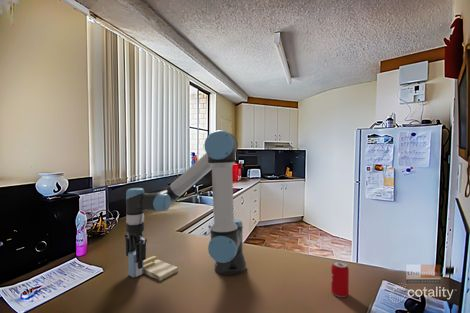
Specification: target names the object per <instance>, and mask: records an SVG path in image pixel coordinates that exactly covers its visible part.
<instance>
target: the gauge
mask: <svg viewBox="0 0 470 313" xmlns="http://www.w3.org/2000/svg"><path fill="white" fill-rule="evenodd" d="M127 259H128V260H127V263H128V265H127V266H128V267H127V269H128V276H129V277H131V278H136V262H135V261H137V258H136V250H135V251H133V252H130V253H129V252H128V256H127ZM155 260H157V256H155V255H153V256H150V257H146V260H144V261H142V274H141V275H143V274H144V268H143V266H144V265H146V264H148V263H150V262H154V261H155Z"/></svg>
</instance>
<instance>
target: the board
mask: <svg viewBox="0 0 470 313" xmlns="http://www.w3.org/2000/svg"><path fill="white" fill-rule="evenodd" d="M143 268H144V273H143V274H145V275H147V276H148V277H150V278H153V279H155V280H158V281H159V282H161V281H163V280H165V279H167V278H169V277H171V276H172V275H175V274H176V273H178V272H179V268H178V266H176V265H172V264H170V263H168V262H165V261H163V260H160V259H157V260H155V261H154V262H150V263H148V264H146V265H144V266H143Z"/></svg>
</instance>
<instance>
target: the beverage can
mask: <svg viewBox="0 0 470 313" xmlns="http://www.w3.org/2000/svg"><path fill="white" fill-rule="evenodd" d="M349 270H350V269H349V266H348V264H347V263H346V262H344V261H341V260H334V261H333V262H332V265H331V270H330V271H331V273H330V275H331V279H330V280H331V283H330V285H331V288H330V289H331V290H330V291H331V293H332V294H333V295H334V296H336V297H338V298H346V297H348V296H349V288H350V287H349V285H350V284H349V281H350V280H349V279H350V278H349V275H350V274H349V273H350V272H349Z"/></svg>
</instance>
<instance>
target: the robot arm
mask: <svg viewBox="0 0 470 313" xmlns="http://www.w3.org/2000/svg"><path fill="white" fill-rule="evenodd" d="M238 142H239V141H238V139H237V138H236V137H235V135H234V134H232V133H231V132H228V131H225V130H222V129H221V130H215V131H212V132H211V133H209V134H208V135H207V137H206V138H205V141H204V146H203V147H204V151H205V153H204V154H203V155H202V156H201V157H200V158H199V159H198V160H197V161H196V162H194V163H193V164H192V165H191V166H190V167H189V168H188V169H186V170H185V171H184V172H183V173H182V174H180V176H178V177H177V178H176V179H175V180H174V181H173V182H171V184H170V185H168V186H167V187H166V188H165V189H163V190H161V191H157V192H154V193H153V192H151V193H149V192H145V189H144V188H143V187H132V188H128V189H126V192H125V194H126V196H125V197H126V198H125V204H126V207H125V208H126V212H125V215H126V216H125V219H126V220H125V223H126V225H125V227H126V230H125V231H126V234H124V239H125V255H126V257H128V253H130V252H133V251H136V258H137V261H135V262H136V277H139V276H142V275H143V274H142V261H144V260H146V259H147V257H146V256H147V255H146V254H147V253H146V252H147V242H148V239H147V238H144V237H143V236H144V235H143V232H144V230H145V211H150V212H151V211H153V212H164V211H168V210H169V208H171V207H170V206H171V205H172V204H174V203H175V202H177V201H178V199H179V198H180V197H182V195H183V194H184V193H186V192H187V191H188V190H189V189H190V188H192V187H193V186H194V185H195V184H196V183H197V182H199V181H200V180H201V179H202V178H203V177H205V175H207V174H208V173H209V172H210V171H211V181H212V208H213V210H212V213H213V224H212V225H211V226H210V229H209V230H210V241H209V242H208V244H207V245H208V246H207V247H208V248H207V249H208V254H209V256H210V258H211V259H213V260H214V261H215V262H214V270H215V271H216V272H217V273H218V274H220V275H223V276H237V275H240V274H242V273H244V272H245V271H246V269H247V262H246V259H245V255H244V252H243V245H244V244H243V228H244V226H243V221H241V220H239V219H235V216H234V214H235V212H234V185H233V183H234V182H233V181H234V180H233V166H234V165H235V164H236V153H237V150H238V148H239V143H238ZM136 277H135V278H136Z"/></svg>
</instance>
